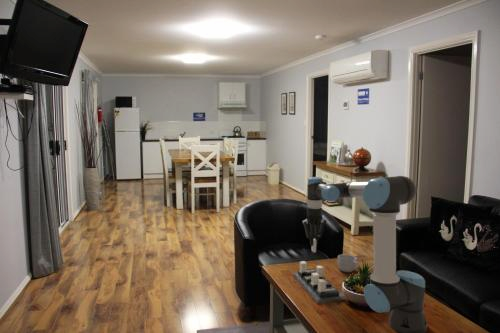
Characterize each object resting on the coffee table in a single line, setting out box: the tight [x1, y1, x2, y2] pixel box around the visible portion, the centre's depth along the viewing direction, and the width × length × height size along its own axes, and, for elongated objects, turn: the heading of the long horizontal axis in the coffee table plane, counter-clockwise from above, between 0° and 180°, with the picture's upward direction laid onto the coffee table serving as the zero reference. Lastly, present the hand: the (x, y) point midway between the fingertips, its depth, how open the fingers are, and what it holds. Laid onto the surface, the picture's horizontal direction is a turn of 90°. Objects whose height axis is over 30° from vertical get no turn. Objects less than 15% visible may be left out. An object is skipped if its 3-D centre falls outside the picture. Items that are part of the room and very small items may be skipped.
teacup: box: [337, 253, 359, 273], centre depth 227 cm, size 14×11×8 cm
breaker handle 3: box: [315, 265, 324, 277], centre depth 211 cm, size 3×3×5 cm
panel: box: [293, 268, 345, 304], centre depth 207 cm, size 32×14×4 cm, turn 15°
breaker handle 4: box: [318, 279, 326, 292], centre depth 194 cm, size 3×3×5 cm
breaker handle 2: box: [311, 273, 319, 285], centre depth 201 cm, size 3×3×5 cm
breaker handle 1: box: [299, 260, 308, 273], centre depth 217 cm, size 3×3×5 cm
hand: (313, 251), depth 208 cm, fingers closed
